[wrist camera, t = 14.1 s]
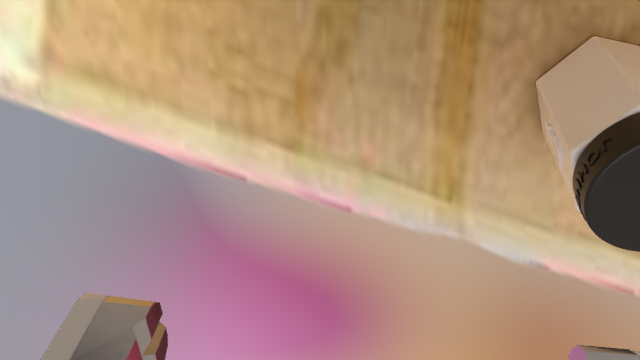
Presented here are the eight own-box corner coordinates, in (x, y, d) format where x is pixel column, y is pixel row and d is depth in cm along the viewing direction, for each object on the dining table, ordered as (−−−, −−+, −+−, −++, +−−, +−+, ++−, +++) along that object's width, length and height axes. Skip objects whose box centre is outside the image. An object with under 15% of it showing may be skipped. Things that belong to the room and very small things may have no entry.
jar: (527, 52, 36) (576, 146, 27) (660, 16, 34) (766, 105, 24) (542, 157, 41) (588, 269, 32) (660, 132, 39) (748, 245, 29)
